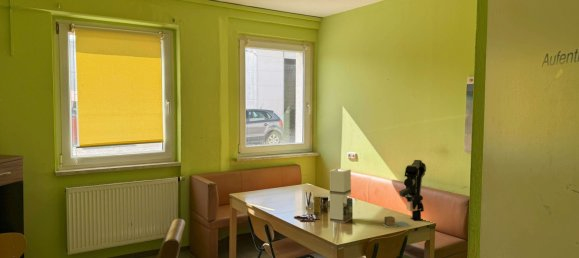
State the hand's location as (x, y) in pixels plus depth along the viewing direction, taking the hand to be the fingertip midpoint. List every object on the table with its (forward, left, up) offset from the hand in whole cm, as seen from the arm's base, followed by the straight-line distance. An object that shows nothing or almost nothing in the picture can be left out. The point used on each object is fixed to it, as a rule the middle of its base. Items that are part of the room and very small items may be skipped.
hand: (411, 208), depth 283 cm
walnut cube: (0, -16, -10) cm, 19 cm away
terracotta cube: (0, 0, -1) cm, 1 cm away
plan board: (0, -12, -11) cm, 16 cm away
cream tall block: (-22, -42, -11) cm, 49 cm away
